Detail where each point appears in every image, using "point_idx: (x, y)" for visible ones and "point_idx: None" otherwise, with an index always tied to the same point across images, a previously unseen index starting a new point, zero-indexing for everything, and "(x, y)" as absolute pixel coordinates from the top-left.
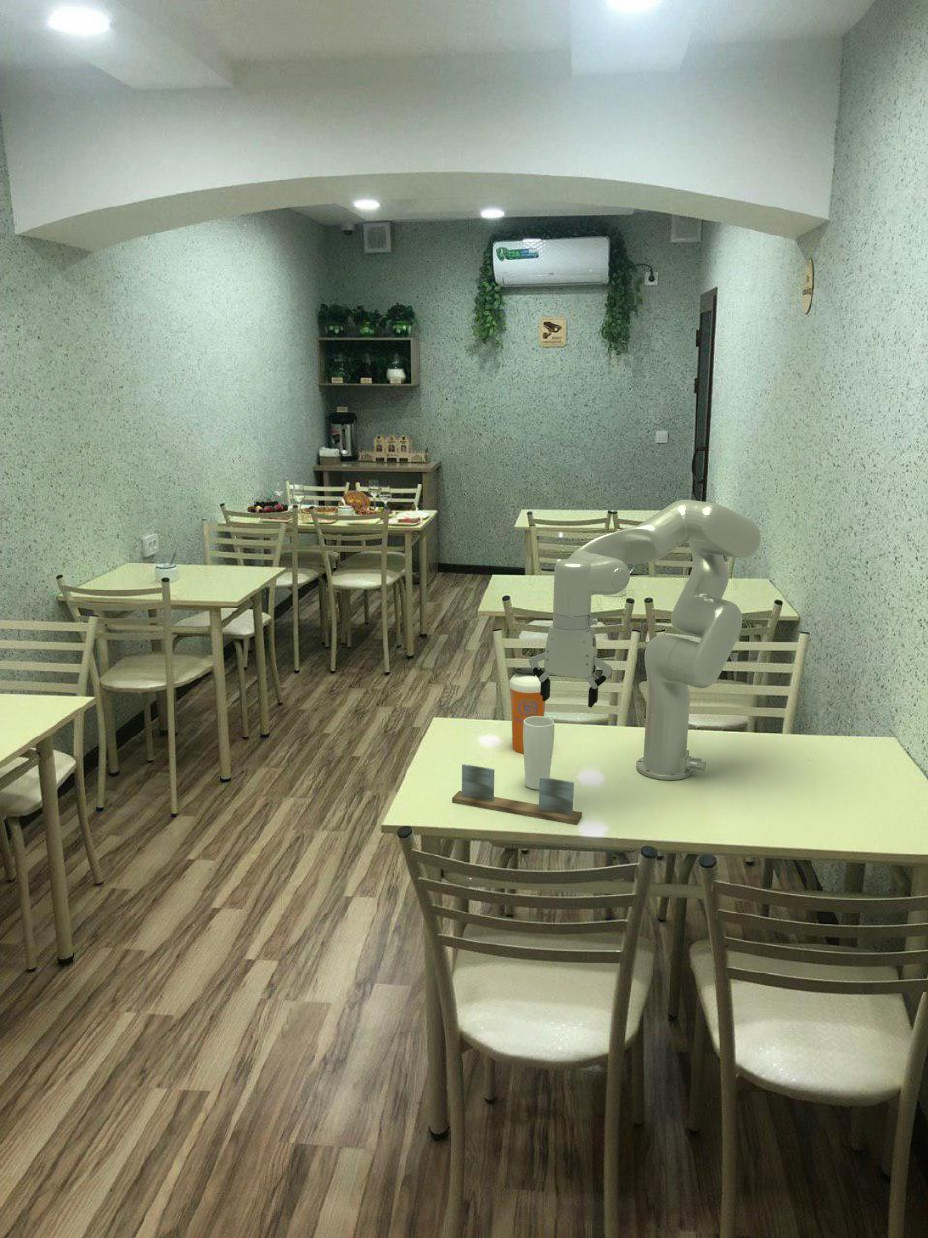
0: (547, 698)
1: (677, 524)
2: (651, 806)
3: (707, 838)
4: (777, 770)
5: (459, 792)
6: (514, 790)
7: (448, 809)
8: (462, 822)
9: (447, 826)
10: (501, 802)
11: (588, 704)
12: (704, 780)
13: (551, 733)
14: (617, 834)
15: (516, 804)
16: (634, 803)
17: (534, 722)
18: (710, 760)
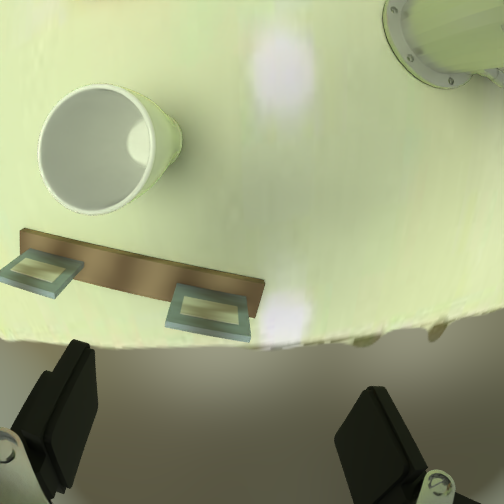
0: (94, 388)
1: None
2: (399, 210)
3: (445, 308)
4: None
5: (22, 239)
6: None
7: None
8: (65, 328)
9: (53, 342)
10: (99, 269)
11: (338, 447)
12: (486, 89)
13: (156, 176)
14: (324, 329)
15: (128, 273)
16: (371, 200)
17: (80, 98)
18: None
